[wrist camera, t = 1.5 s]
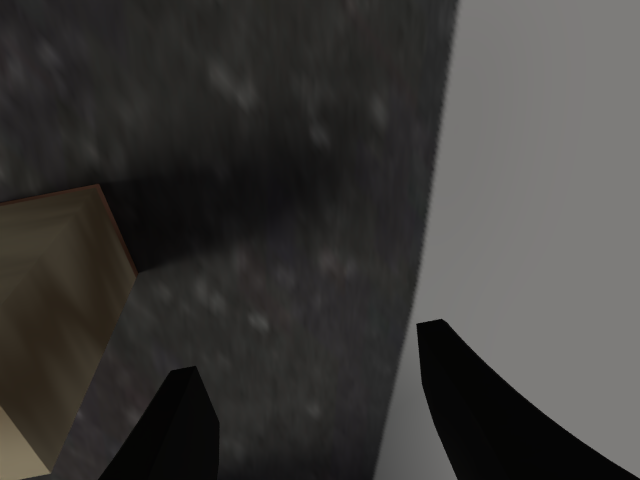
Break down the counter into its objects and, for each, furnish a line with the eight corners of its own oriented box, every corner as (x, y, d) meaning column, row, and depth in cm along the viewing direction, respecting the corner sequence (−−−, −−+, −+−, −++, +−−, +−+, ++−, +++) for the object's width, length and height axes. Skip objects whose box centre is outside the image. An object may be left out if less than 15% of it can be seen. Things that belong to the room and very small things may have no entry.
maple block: (138, 273, 22) (50, 473, 13) (42, 291, 22) (-108, 503, 13) (99, 183, 20) (-38, 354, 11) (-9, 204, 20) (-229, 390, 11)
